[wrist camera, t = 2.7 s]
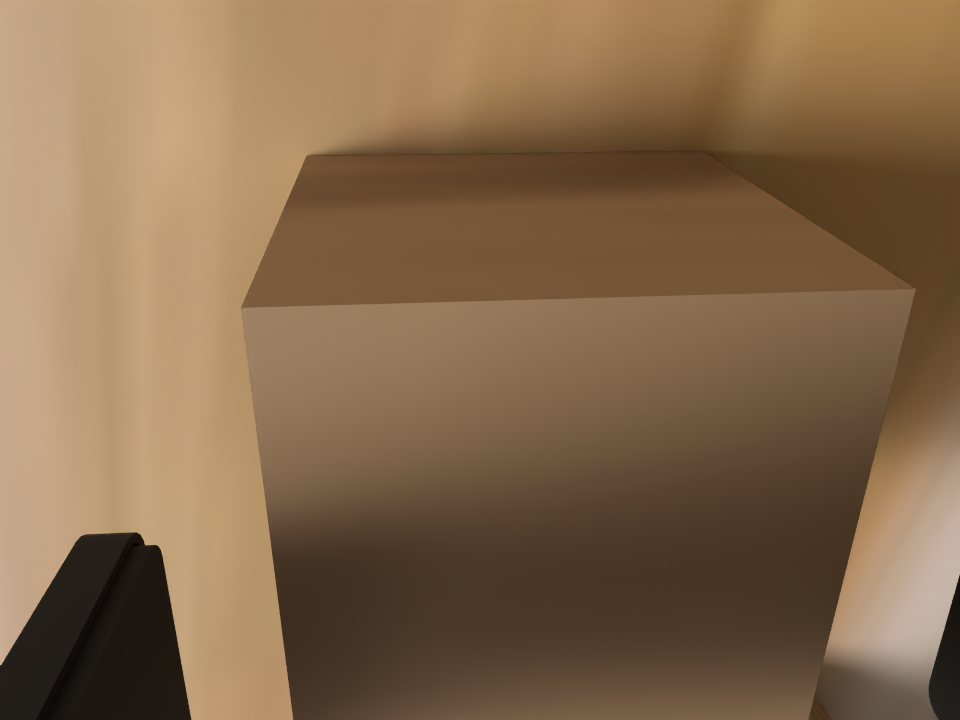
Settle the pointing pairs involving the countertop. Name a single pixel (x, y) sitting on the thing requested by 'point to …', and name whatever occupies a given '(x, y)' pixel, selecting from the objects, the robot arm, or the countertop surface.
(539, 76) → the countertop surface
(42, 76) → the countertop surface
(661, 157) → the walnut cube
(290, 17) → the countertop surface
